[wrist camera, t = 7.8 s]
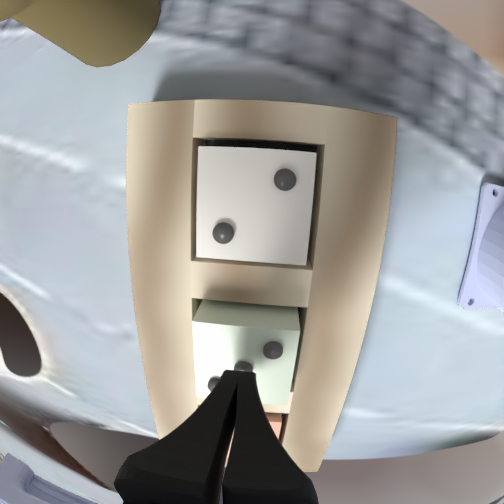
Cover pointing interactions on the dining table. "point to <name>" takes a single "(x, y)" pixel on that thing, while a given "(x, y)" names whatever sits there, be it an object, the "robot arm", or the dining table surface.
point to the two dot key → (254, 204)
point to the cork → (88, 25)
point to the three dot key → (246, 346)
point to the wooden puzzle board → (258, 273)
